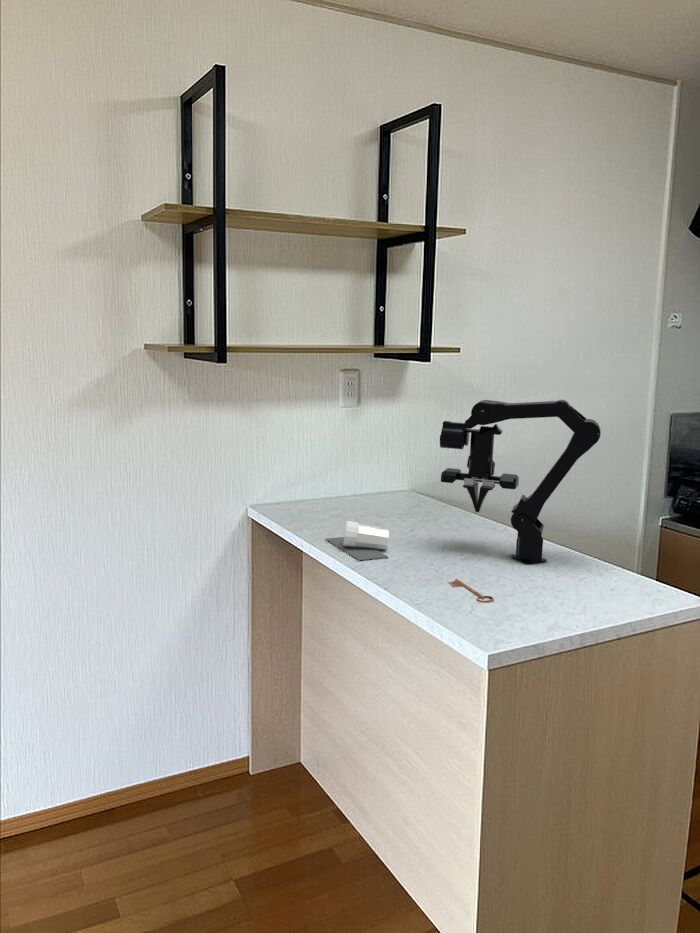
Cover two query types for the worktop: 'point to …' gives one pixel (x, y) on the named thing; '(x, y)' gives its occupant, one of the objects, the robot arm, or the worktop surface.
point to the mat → (357, 550)
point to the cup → (365, 536)
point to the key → (471, 591)
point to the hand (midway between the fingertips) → (477, 511)
